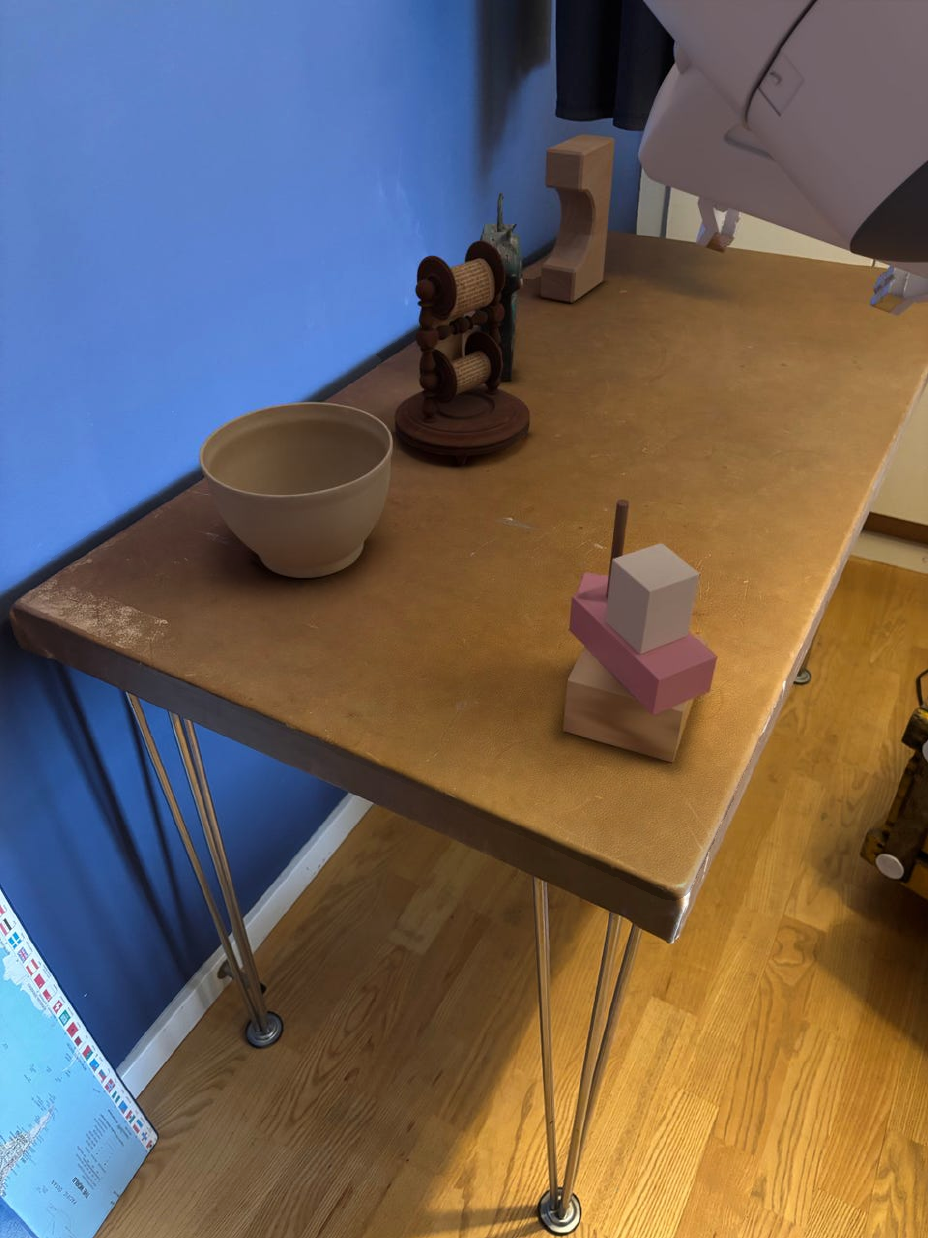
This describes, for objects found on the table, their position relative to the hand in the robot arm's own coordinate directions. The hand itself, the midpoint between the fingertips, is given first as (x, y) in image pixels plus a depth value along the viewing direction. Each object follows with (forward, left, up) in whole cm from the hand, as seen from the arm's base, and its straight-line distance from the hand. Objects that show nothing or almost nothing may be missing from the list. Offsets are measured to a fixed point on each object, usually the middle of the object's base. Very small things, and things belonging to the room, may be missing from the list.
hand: (799, 267), depth 46 cm
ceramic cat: (+38, -56, -32) cm, 75 cm away
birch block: (+5, +1, -32) cm, 33 cm away
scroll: (+33, -34, -32) cm, 58 cm away
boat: (+5, +1, -27) cm, 28 cm away
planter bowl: (+37, -8, -32) cm, 50 cm away
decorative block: (+36, -83, -32) cm, 96 cm away
